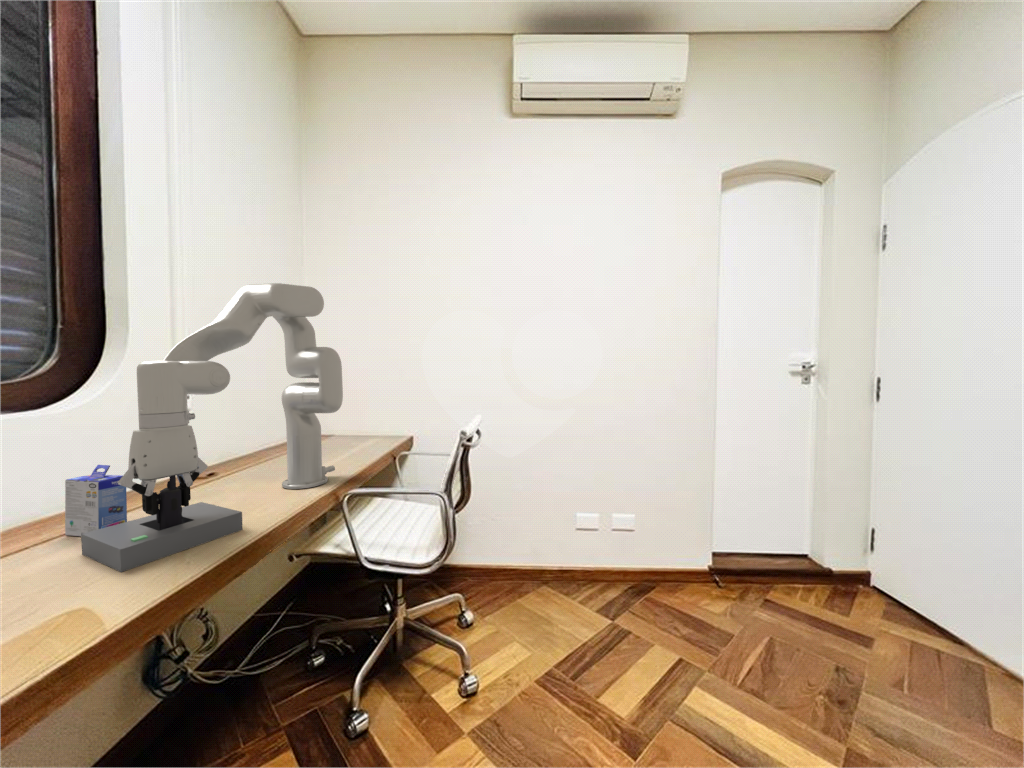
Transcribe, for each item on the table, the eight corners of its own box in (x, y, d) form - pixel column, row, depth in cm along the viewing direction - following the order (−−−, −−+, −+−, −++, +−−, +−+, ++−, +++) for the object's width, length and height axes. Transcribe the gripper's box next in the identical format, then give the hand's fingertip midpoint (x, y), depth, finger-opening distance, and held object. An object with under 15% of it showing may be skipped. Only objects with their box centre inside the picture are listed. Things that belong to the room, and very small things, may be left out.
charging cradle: (202, 518, 92) (201, 500, 92) (242, 529, 85) (242, 510, 85) (81, 554, 74) (81, 532, 74) (121, 572, 67) (120, 547, 67)
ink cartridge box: (130, 529, 87) (127, 464, 86) (99, 539, 81) (96, 470, 81) (96, 525, 89) (93, 463, 88) (64, 536, 83) (61, 468, 83)
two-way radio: (184, 537, 80) (183, 464, 80) (155, 544, 76) (153, 468, 76) (178, 530, 83) (176, 461, 83) (150, 537, 80) (148, 464, 80)
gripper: (201, 416, 89) (204, 495, 89) (98, 425, 73) (102, 521, 74) (220, 417, 85) (223, 499, 86) (116, 428, 70) (121, 527, 71)
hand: (167, 508), depth 80 cm, fingers closed on two-way radio, 4 cm apart
